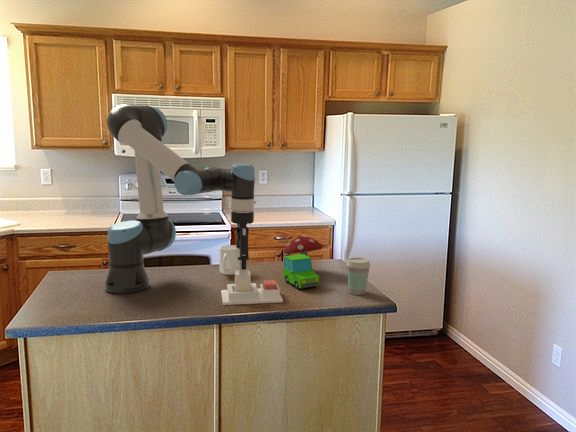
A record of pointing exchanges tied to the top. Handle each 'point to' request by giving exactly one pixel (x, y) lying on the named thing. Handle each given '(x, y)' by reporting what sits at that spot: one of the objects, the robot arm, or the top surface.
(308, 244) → the decorative mushroom
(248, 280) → the plug
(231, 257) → the mug
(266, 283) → the switch
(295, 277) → the toy car
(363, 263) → the coffee cup
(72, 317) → the top surface
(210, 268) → the top surface
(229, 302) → the socket plate
